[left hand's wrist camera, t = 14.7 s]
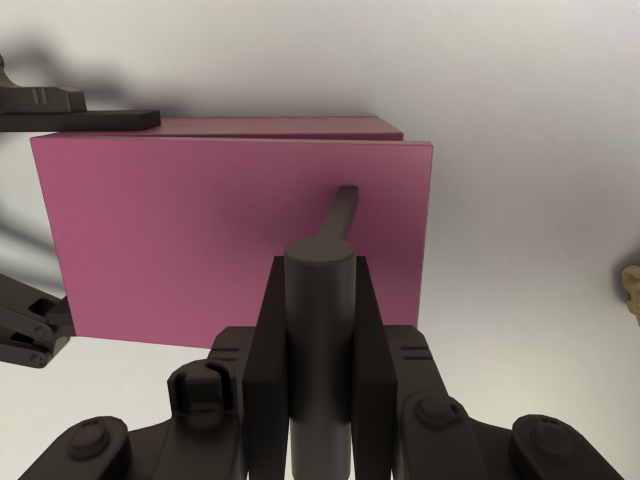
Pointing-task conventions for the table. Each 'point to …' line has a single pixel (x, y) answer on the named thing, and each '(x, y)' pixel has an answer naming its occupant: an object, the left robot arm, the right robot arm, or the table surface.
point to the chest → (264, 128)
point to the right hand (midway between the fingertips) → (164, 220)
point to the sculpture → (632, 289)
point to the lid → (241, 250)
